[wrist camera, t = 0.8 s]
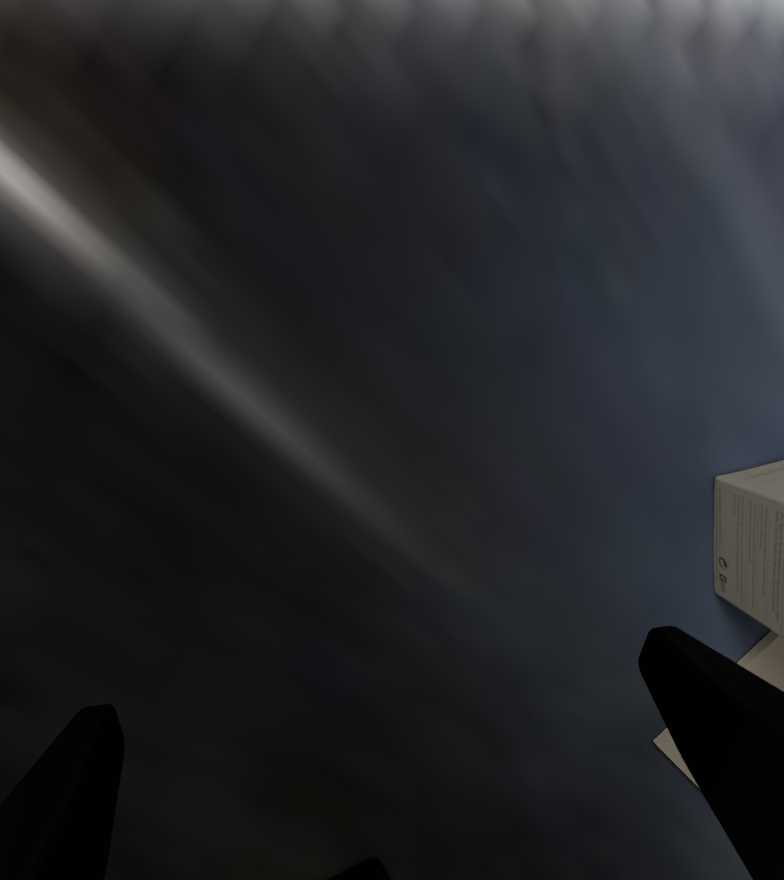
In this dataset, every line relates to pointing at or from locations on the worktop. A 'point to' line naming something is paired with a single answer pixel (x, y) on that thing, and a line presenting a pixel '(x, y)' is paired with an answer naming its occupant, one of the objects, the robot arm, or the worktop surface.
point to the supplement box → (751, 542)
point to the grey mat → (767, 659)
